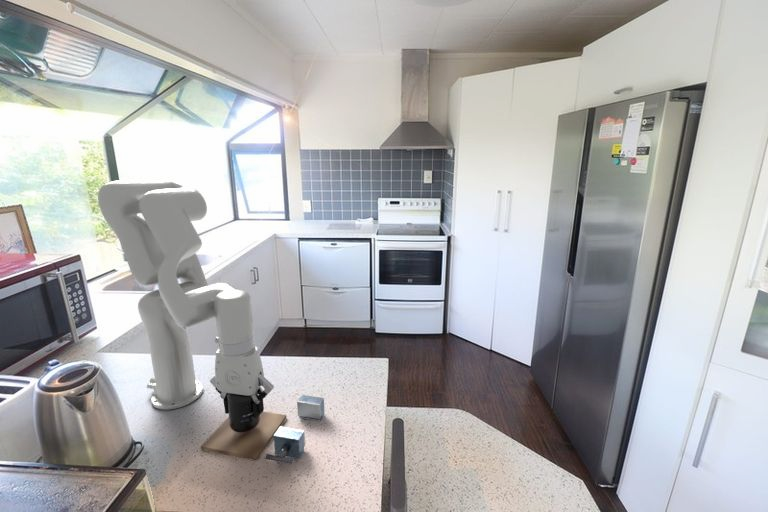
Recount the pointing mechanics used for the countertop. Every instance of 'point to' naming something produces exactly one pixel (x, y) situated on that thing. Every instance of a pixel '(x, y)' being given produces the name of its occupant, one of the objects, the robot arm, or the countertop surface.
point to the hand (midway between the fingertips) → (244, 411)
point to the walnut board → (244, 438)
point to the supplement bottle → (241, 412)
